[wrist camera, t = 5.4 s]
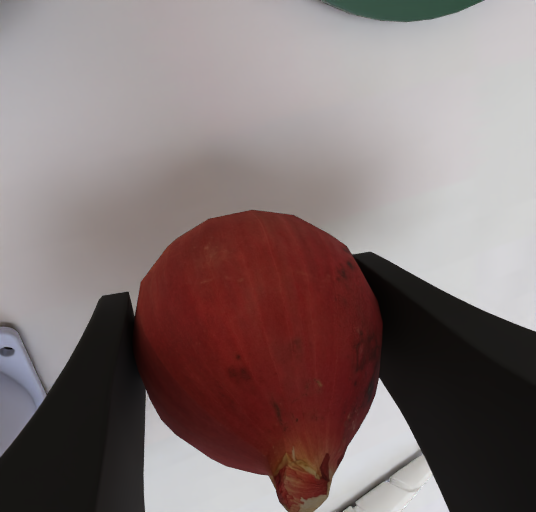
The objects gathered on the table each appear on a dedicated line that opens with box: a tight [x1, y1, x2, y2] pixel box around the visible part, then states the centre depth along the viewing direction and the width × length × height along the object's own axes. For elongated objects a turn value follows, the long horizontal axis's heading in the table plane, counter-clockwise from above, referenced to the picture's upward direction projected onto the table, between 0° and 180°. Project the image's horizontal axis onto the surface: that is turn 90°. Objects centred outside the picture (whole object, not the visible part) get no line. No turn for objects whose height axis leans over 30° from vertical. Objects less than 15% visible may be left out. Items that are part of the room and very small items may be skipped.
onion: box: [132, 210, 383, 512], centre depth 10 cm, size 6×6×8 cm
